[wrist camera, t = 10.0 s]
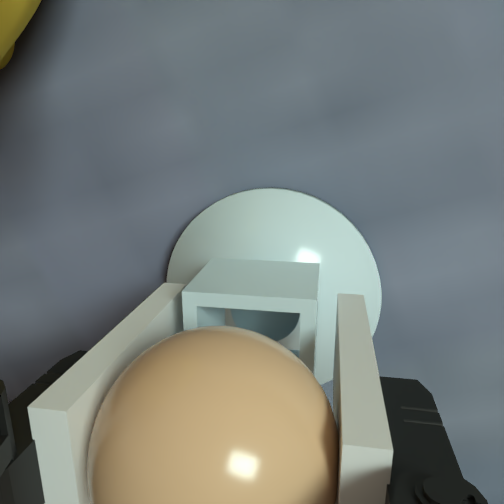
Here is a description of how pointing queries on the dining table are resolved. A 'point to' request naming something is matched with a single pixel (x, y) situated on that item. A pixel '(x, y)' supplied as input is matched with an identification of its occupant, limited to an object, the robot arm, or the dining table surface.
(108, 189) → the dining table surface
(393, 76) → the dining table surface
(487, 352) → the dining table surface
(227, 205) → the egg cup
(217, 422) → the brown egg
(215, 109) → the dining table surface
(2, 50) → the teapot
